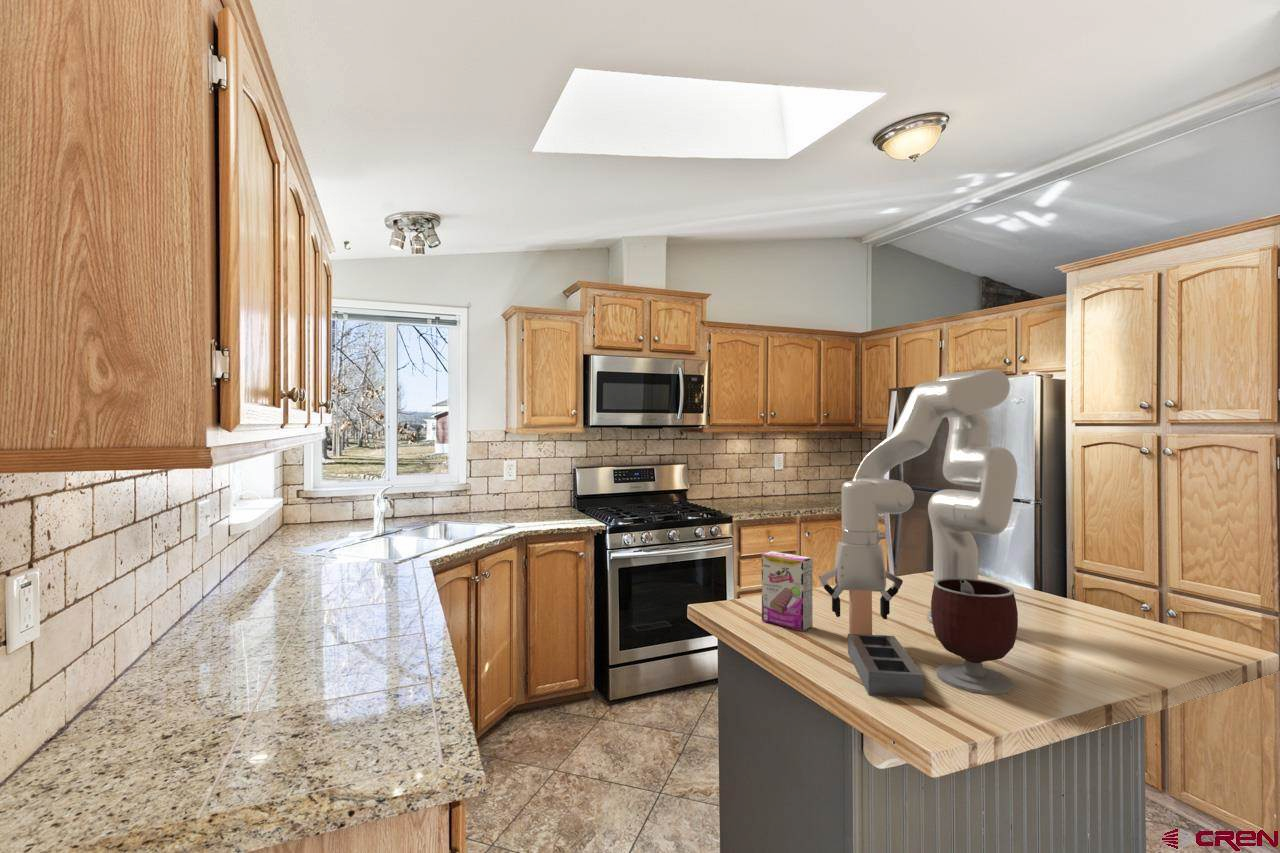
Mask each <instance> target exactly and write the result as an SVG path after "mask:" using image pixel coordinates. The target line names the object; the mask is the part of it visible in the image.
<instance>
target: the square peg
mask: <svg viewBox="0 0 1280 853" xmlns="http://www.w3.org/2000/svg"><path fill="white" fill-rule="evenodd" d="M848 605H849V606H848V615H849V616H848V618H849V619H848V623H849V624H848V625H849V631H848V632H849V633H848V634H866V635H873V591H872V590H852V591H849V590H848Z"/></svg>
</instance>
